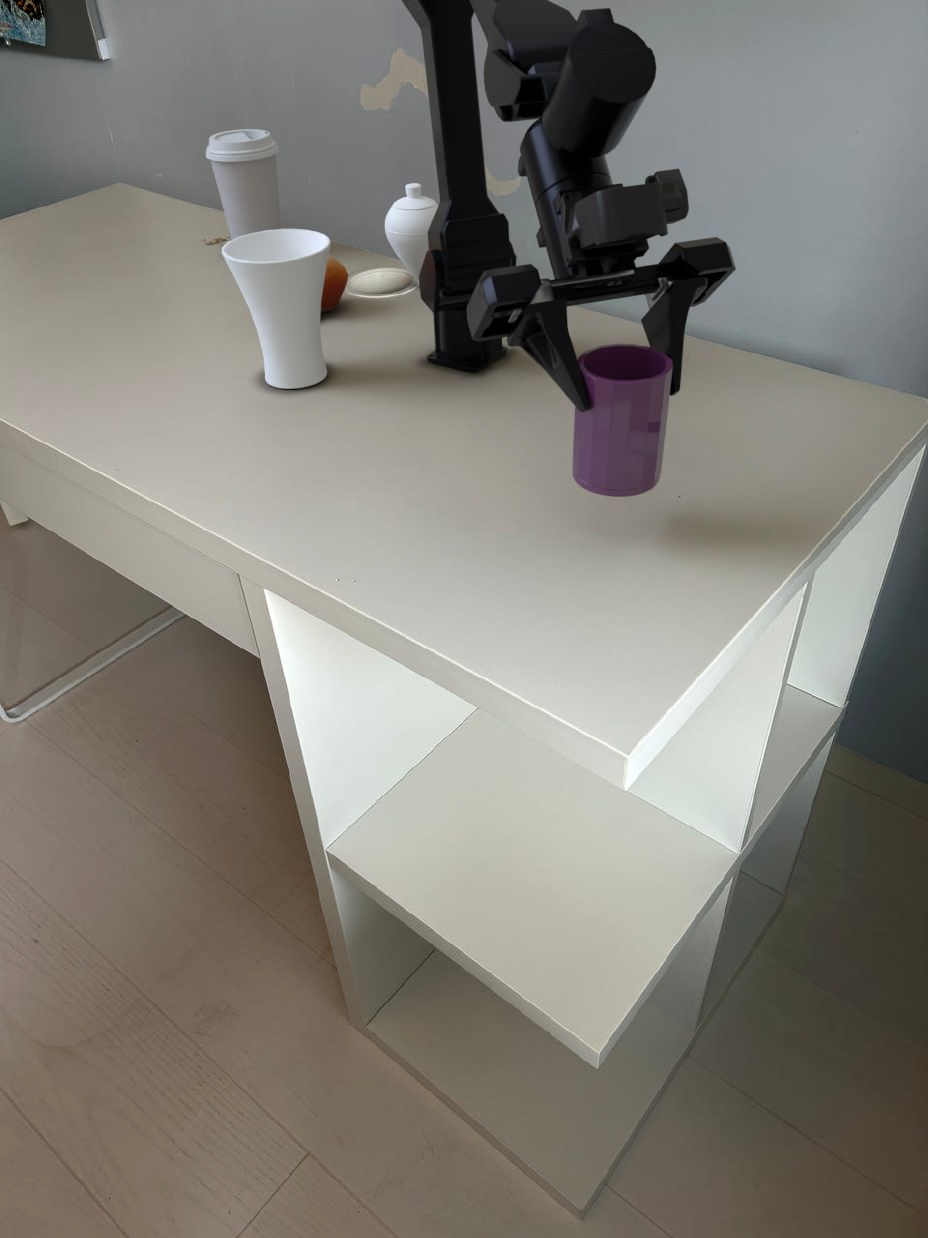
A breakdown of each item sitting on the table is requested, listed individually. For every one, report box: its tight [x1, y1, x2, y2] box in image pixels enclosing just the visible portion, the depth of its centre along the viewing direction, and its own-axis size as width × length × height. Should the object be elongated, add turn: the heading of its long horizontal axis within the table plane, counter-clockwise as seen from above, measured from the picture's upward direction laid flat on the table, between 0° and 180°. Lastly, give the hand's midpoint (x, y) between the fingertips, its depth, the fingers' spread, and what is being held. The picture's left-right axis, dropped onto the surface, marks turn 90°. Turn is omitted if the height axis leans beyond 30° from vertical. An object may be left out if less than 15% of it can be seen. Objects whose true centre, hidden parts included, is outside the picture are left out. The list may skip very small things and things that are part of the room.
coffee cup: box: [205, 128, 282, 240], centre depth 129 cm, size 10×10×15 cm
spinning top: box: [384, 182, 439, 286], centre depth 117 cm, size 8×8×12 cm
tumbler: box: [571, 343, 673, 498], centre depth 69 cm, size 7×7×9 cm
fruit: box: [321, 256, 349, 313], centre depth 113 cm, size 8×8×8 cm
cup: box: [221, 228, 332, 390], centre depth 96 cm, size 10×10×14 cm
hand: (630, 401), depth 67 cm, fingers closed on tumbler, 7 cm apart
